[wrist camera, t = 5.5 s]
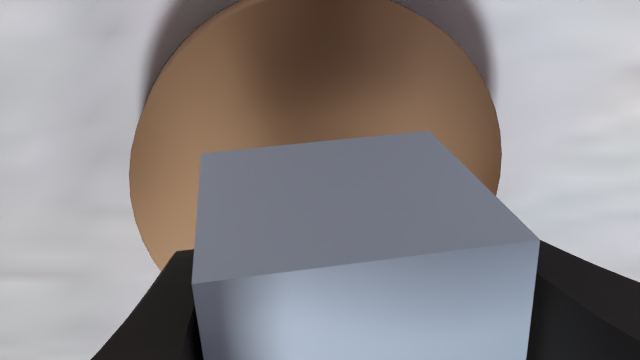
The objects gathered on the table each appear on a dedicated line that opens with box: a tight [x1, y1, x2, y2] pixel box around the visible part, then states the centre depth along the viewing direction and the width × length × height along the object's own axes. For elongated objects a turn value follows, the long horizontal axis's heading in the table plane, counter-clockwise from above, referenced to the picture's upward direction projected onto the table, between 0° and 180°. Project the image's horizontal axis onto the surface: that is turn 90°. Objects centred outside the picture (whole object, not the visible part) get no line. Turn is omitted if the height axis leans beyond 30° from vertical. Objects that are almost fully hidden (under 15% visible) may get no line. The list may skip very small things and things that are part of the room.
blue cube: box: [192, 131, 540, 360], centre depth 10 cm, size 4×4×4 cm
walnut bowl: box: [129, 0, 502, 271], centre depth 18 cm, size 11×11×2 cm
